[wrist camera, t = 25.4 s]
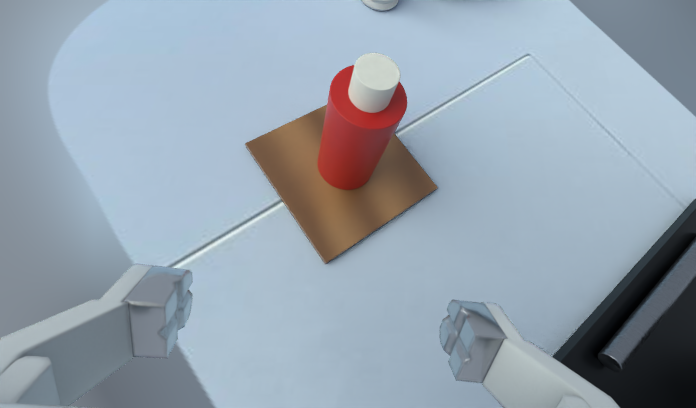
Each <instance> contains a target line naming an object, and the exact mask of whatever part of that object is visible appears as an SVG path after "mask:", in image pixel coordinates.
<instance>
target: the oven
mask: <svg viewBox="0 0 696 408" xmlns="http://www.w3.org/2000/svg"><path fill="white" fill-rule="evenodd" d="M553 358H554V359H556V360H557V361H559V362H560V363H562V364H563V365H565V366H566V367H568V368H569V369H570V370H572V371H573V372H575V373H576V374H578V375H579V376H581V377H582V378H584V379H585V380H587V381H588V382H589V383H591V384H592V385H594V386H595V387H597V388H598V389H600V390H601V391H603V392H604V393H606V394H607V395H608V396H610V397H611V398H612V399H613V400H614V401H615V402H616V404H617V405H618V406H619V407H620V408H696V199H695V200H694V201H693V202H692V203H691V204H690V205H689V206H688V208H687V209H686V210H685V211H684V212H683V213H682V214H681V215H680V216H679V218H678V219H677V220H676V221H675V222H674V223H673V224H672V225H671V226H670V228H669V229H668V230H667V231H666V232H665V233H664V234H663V235H662V236H661V238H660V239H659V240H658V241H657V242H656V243H655V244H654V245H653V246H652V247H651V249H650V250H649V251H648V252H647V253H646V254H645V255H644V256H643V257H642V259H641V260H640V261H639V262H638V263H637V264H636V265H635V266H634V267H633V269H632V270H631V271H630V272H629V273H628V274H627V275H626V276H625V277H624V279H623V280H622V281H621V282H620V283H619V284H618V285H617V286H616V287H615V288H614V290H613V291H612V292H611V293H610V294H609V295H608V296H607V297H606V298H605V300H604V301H603V302H602V303H601V304H600V305H599V306H598V307H597V308H596V310H595V311H594V312H593V313H592V314H591V315H590V316H589V317H588V318H587V320H586V321H585V322H584V323H583V324H582V325H581V326H580V327H579V328H578V329H577V331H576V332H575V333H574V334H573V335H572V336H571V337H570V338H569V339H568V341H567V342H566V343H565V344H564V345H563V346H562V347H561V348H560V349H559V351H558V352H557V353H556V354H555V355H554V356H553Z"/></svg>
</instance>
